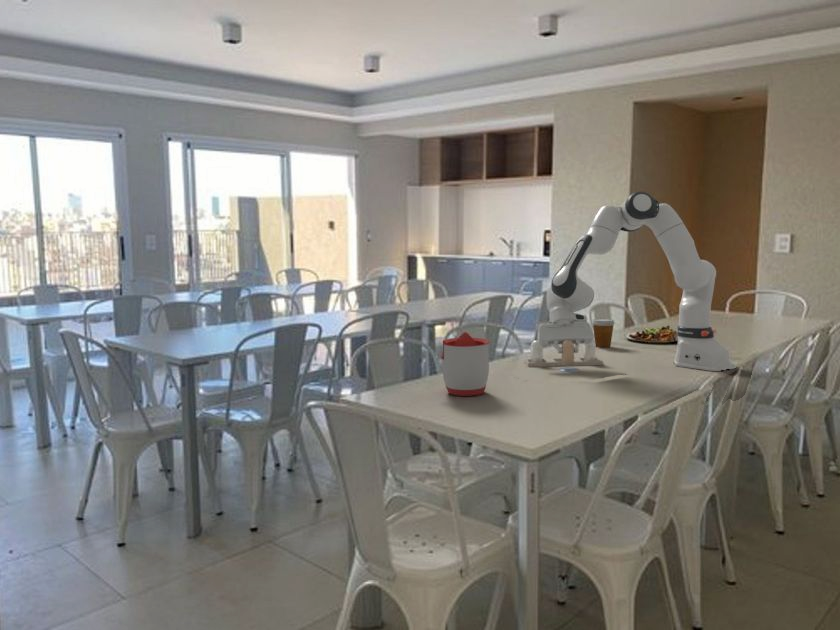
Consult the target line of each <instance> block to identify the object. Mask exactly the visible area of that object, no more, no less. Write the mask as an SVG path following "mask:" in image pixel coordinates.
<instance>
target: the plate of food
mask: <svg viewBox="0 0 840 630" xmlns="http://www.w3.org/2000/svg"><path fill="white" fill-rule="evenodd" d="M643 329H644V330H641V331H633V332H629V333H626V334H625V335H624V337H625V338H626V339H629V340H632V341H637V342H644V343H647V342H648V343H649V344H667V343H672V342H678V340H677V339H678V335H677V331H675V330H673V328H670V325H665V326H661V327H660V328H659V327H656V328H647V327H643Z"/></svg>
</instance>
